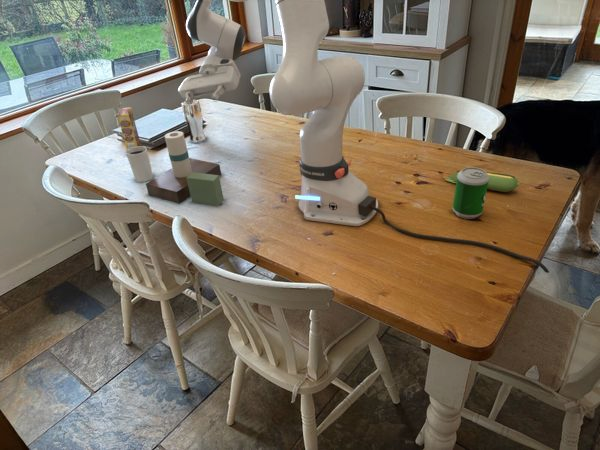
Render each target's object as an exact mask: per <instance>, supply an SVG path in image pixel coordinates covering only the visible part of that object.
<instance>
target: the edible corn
mask: <svg viewBox="0 0 600 450" xmlns="http://www.w3.org/2000/svg"><path fill="white" fill-rule="evenodd" d="M460 171H461V170H456V171H455V172H456V173H452V174H450V175H448V176H447V178H445V179H444V180H445V181H446V182H450V183H453V184H456V181H457V175H458V173H459V172H460ZM485 172H486V173H487V174H488V176H489V182H488V187H487V190H489V191H493V192H500V193H509V192H512V191H514V190H516V189H517V187H519V186H520V181H518V178H516V176H514V175H510V174H507V173H499V172H487V171H485Z"/></svg>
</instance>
